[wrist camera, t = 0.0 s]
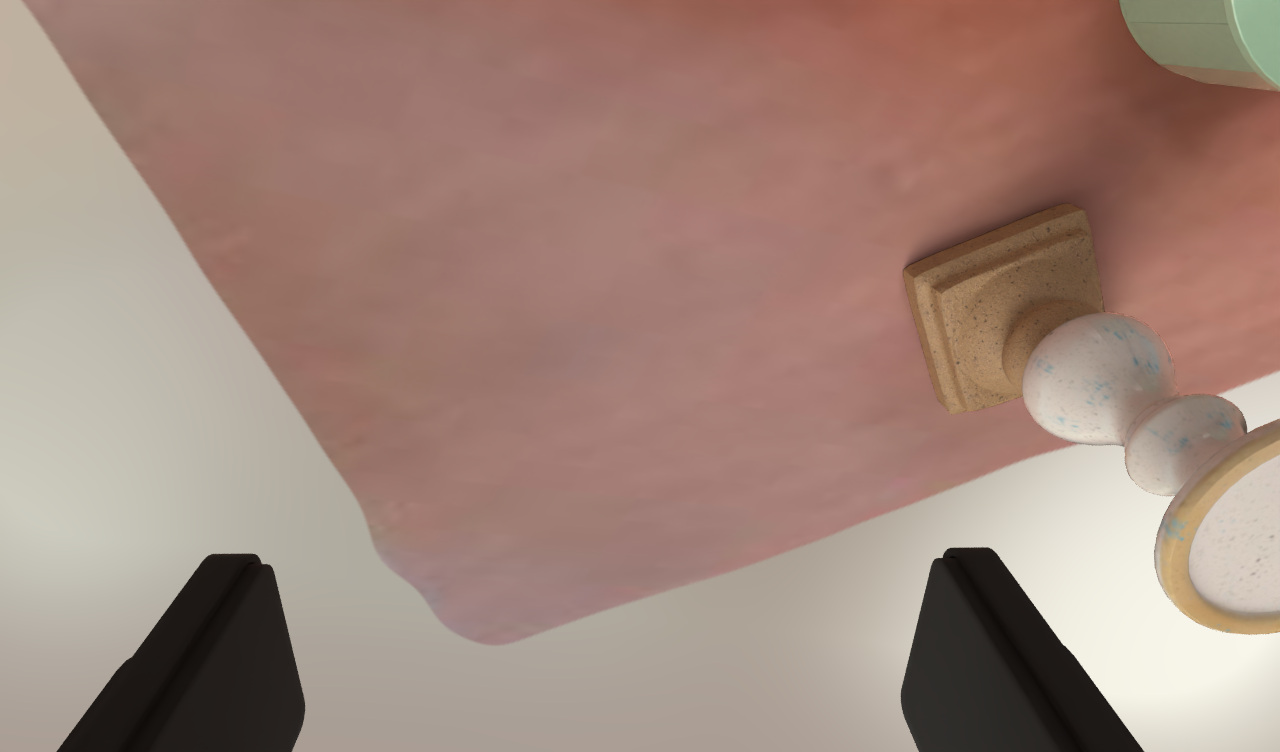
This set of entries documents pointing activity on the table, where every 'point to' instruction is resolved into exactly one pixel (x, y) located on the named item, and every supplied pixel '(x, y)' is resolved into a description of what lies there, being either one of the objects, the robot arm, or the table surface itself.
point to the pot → (1190, 40)
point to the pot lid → (1257, 35)
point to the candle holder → (1108, 403)
